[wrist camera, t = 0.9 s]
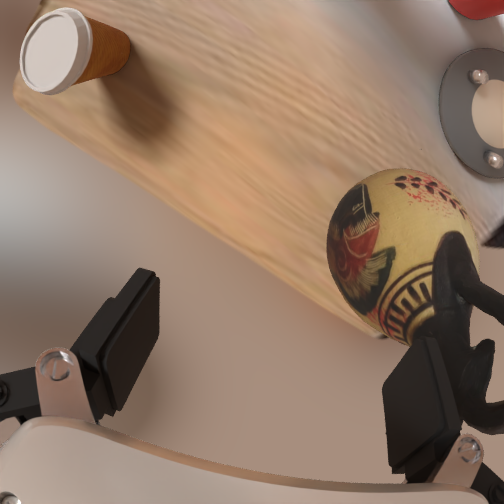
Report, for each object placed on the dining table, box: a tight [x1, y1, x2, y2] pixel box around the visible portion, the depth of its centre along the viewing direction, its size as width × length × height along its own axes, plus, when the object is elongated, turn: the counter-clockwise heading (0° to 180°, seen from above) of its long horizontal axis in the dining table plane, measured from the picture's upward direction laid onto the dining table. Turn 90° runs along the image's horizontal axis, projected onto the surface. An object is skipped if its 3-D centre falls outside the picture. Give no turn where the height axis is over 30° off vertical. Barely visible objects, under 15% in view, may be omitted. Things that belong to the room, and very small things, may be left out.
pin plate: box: [439, 49, 504, 178], centre depth 27 cm, size 16×16×2 cm
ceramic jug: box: [327, 149, 504, 435], centre depth 24 cm, size 17×15×30 cm
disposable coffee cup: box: [20, 7, 130, 95], centre depth 27 cm, size 10×10×12 cm
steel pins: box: [467, 70, 503, 169], centre depth 26 cm, size 10×11×2 cm
